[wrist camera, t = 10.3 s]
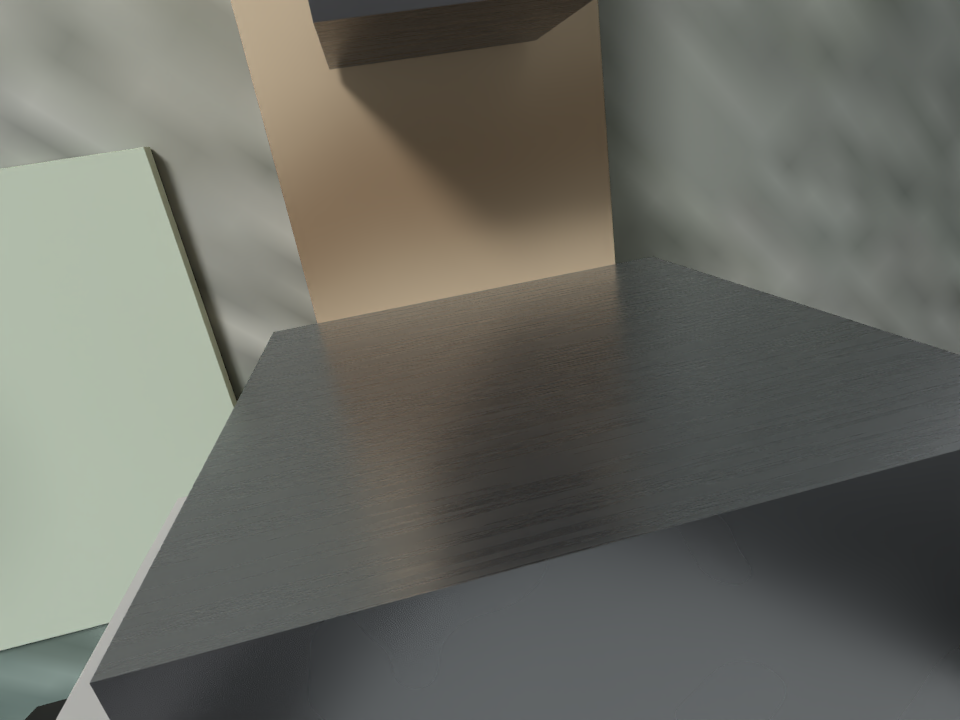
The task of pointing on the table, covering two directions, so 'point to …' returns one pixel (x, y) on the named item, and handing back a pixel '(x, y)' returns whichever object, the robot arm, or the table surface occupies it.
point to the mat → (94, 386)
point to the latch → (428, 26)
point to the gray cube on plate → (566, 518)
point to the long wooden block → (434, 161)
